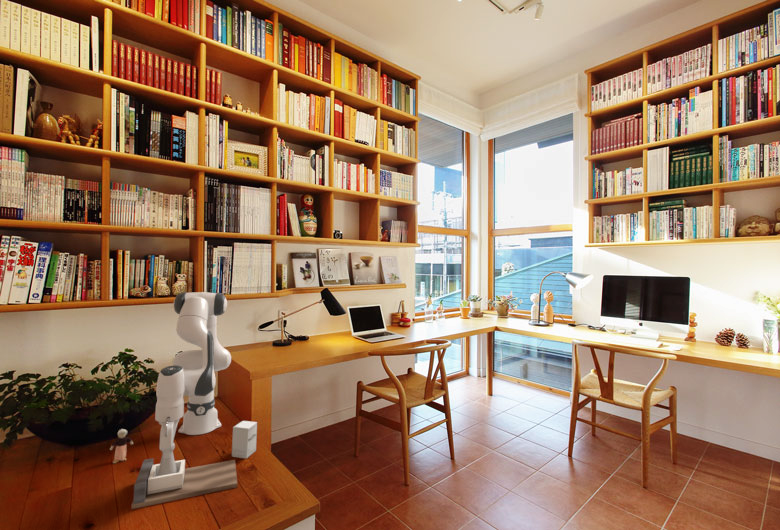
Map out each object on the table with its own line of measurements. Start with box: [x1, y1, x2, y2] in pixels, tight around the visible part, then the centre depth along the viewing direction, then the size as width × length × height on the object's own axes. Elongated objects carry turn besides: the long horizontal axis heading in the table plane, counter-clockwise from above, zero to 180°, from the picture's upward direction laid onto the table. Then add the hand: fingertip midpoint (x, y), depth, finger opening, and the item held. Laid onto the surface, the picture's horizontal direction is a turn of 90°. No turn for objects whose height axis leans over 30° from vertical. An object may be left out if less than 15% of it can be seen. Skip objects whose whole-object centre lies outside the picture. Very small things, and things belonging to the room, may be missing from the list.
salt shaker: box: [158, 442, 177, 476], centre depth 132 cm, size 6×6×13 cm
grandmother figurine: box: [109, 428, 134, 464], centre depth 149 cm, size 8×4×13 cm, turn 143°
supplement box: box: [231, 420, 258, 459], centre depth 157 cm, size 7×7×13 cm
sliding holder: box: [147, 459, 186, 495], centre depth 131 cm, size 10×10×5 cm
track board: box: [130, 457, 238, 510], centre depth 134 cm, size 18×32×8 cm, turn 116°
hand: (168, 450), depth 132 cm, fingers open, 8 cm apart
